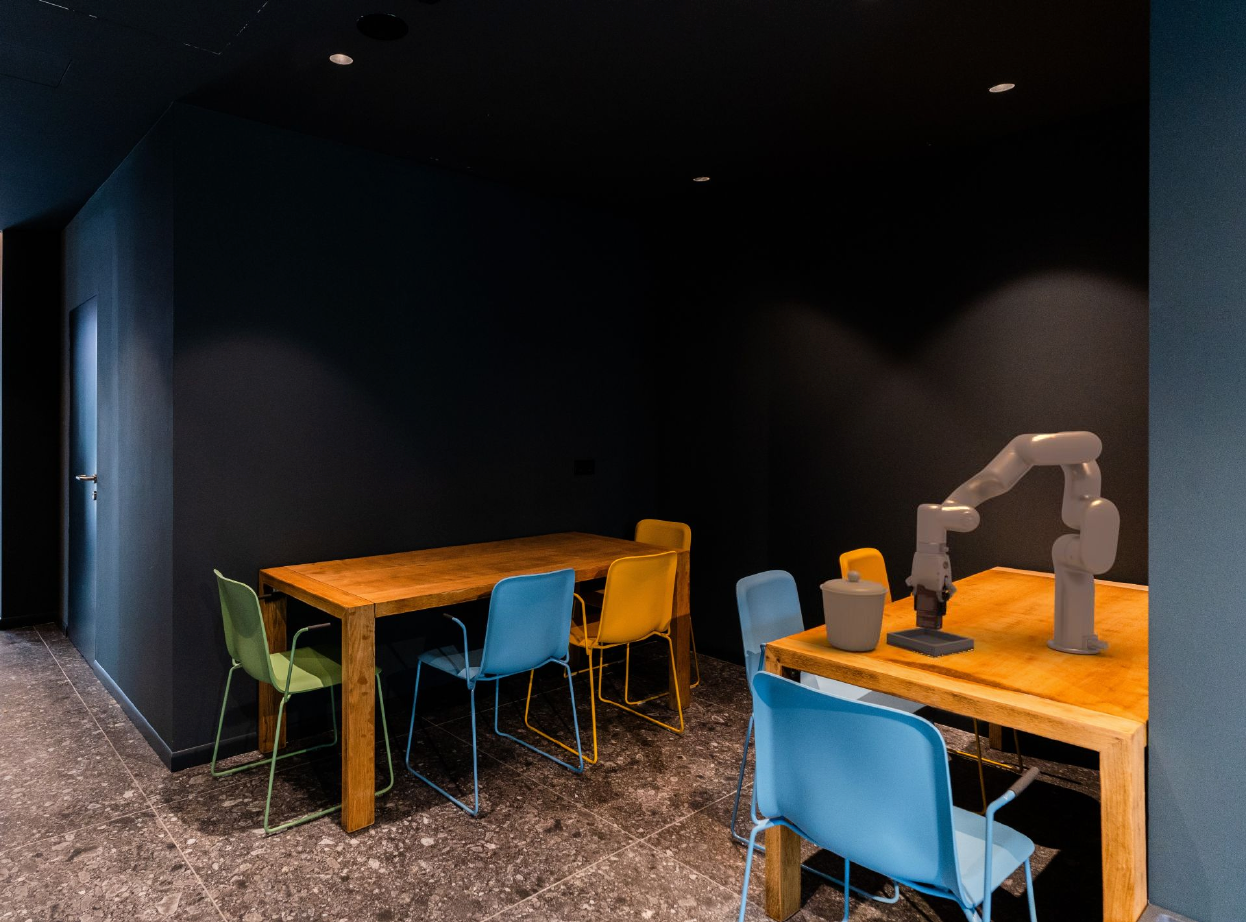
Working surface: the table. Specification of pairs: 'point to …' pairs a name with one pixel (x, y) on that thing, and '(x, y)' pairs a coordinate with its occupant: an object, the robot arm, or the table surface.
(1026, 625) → the table surface
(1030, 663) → the table surface
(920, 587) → the box
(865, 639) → the canister
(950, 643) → the tray
